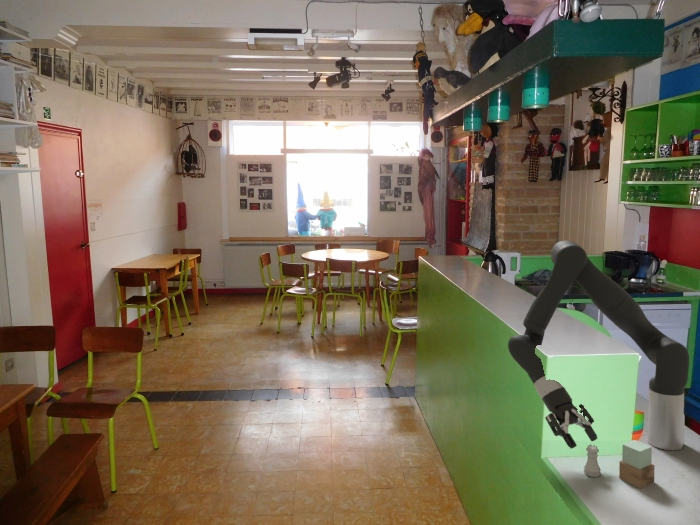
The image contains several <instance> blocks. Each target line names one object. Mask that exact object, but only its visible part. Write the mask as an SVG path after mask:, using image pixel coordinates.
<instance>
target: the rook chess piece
mask: <svg viewBox="0 0 700 525" xmlns="http://www.w3.org/2000/svg"><path fill="white" fill-rule="evenodd" d="M585 450H586V451H587V453H586V456H587V460H586V462H585V464H584V466H583V472H584V474H585V475H586V476H588V477H591V478H597V477H600V476H601V475H602V472H601V471H602V470H601V467H600V465H599V462H598V456H599V455H598V452H600V450H599V449H598V446H597V445H595V444H593V445H592V444H587V447H586V449H585Z"/></svg>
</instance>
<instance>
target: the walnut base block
mask: <svg viewBox="0 0 700 525" xmlns="http://www.w3.org/2000/svg"><path fill="white" fill-rule="evenodd" d="M655 467H656V466H655V464H654V463H651V465H649V466H647V467H644V468H642V469H637V468H635V467H633V466H631V465H629V464H626V463H624V462H622V460H620V461H619V469H618V470H619V472H618V473H619V475H618V476H619V479H620V480H622V481H623V482H626V483H628V484H630V485H632V486H633V487H635V488H638V489H642V488H644V487H646V486H649V485H650V484H653V483H655V469H656V468H655Z"/></svg>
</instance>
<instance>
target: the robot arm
mask: <svg viewBox="0 0 700 525" xmlns="http://www.w3.org/2000/svg"><path fill="white" fill-rule="evenodd" d="M550 258H551V261H552V263H553V268H552V272H551V274H550V277H549V278H548V280H547V283H546V284H545V286H544V287H543V288H542V289H541V291H540V292H539V293H538V294H537V296H536V297H535V299H534V300H533V302H532V303H531V305H530V307H529V308H528V311H527V313H526V315H525V317H524V320H523V323H522V324H523V326H524V327H525V331H524V333H523V334H516V335H513V336H511V337H510V338H509V340H508V343H507V349H508V351H509V354H510V355H511V358H513V360H514V361H515V362H516V363H517V365H519V366H520V367H521V369H523V370H524V371H525V372H526V373H527V376H528V377H529V379H530V380H531V383H533V385H534V388H535V390H536V393H537V394H538V395H539V397H540V399H541V400H542V402H543V404H544V405H545V407H546V409H547V410H548V412H550V413H549V414H547V415H546V416H545V420H546V422H547V424H548V426H549V428H550V430H551V432H552V433H553V435H554V436H555V437H558V436H559V437H561V438H562V439H563V440H564V442H565V444H566V446H568V447H569V448H570V450H571V449H574V448H575V447H577V446H578V445H577V443H576V441H575V440H574V438H573V437H572V435H571V433H569V426H571V425H574V424H575V426H580V427H581V428H583V429H584V432H585V434H586V435H587V437H588V439H589V440H590V441H591V442H594V441H596V440H598V435H597V433H596V431H595V430H594V428H593V427H592V424H593V423H594V422H595V420H594V418H593V417H592V415H591V414H590V412H589V411H588V409H587V408H586V407H585V406H584V404H583V405H582V403H580V404H579V407H580V408H581V410H580V411H579V412H580V413H582V412H583V416H582V415H581V414H579V413H578V411H577V410H578V409H577V408H576V407H577V406H575V405H574V404H573V398H572V397H571V396H570V393H569V392H568V391H567V389H566V388H565V386H564V385H563V386H564V387H563V386H562V385H561V384H560V383H559V382H557V381H555V380H550V379H549V380H546V378H545V374H544V370H543V365H542V362H541V359H540V358H541V357H540V356H538V355H537V354H535V348H536V346H537V345H541V346H542V345H543V341H544V336H545V331H546V329H547V327H548V326H549V324H550V321H551V320H552V318H553V316H554V314H555V312H556V310H557V308H558V306H559V305H560V303H561V302H562V300H563V298H564V296H565V295H566V293H567V291H568V290H569V288H570V287H571V285H572V284H573V283H574V282H576V283H577V284H578V285H579V286H580V287H581V289H582V290H583V292H584V294H586V295H587V297H588V298H589V299H590V300H591V302H592V303H593V304H594V306H596V307H597V309H598V310H599V311H600V312H601V313H602V314H603V315H604V316H605V317H607V319H608V320H610V321H611V322H612V323H613V324H614V325H615V326H616V327H617V328H618V329H620V330H621V331H622V332H624V333H625V334H626V335H627V336H629V337H630V338H631V339H632V341H634V343H635V344H636V345H637V346H638V347H639V349H640V350H641V351H642V352H643V354H644V355H645V356H646V357H647V359H649V361H650V362H652V363H653V364H654V365H655V374H654V376H653V377H651V378H650V379H649V381H648V383H649V384H648V418H647V419H648V424H647V425H648V428H647V429H648V430H647V441H648V443H649V444H650V446H652V447H655V448H658V449H661V450H665V451H666V450H667V451H677V450H678V451H679V450H681V449H682V448H684V447H683V445H684V444H685V416H686V415H685V414H684V411H685V409H684V408H685V387H686V386H687V384H688V380H689V371H690V370H689V369H690V354H689V351H688V349H687V347H686V346H684V344H682V343H680V342H678V341H676V340H675V339H673V338H670V337H669V336H667V335H666V334H665V333H663V332H662V331H660V330H659V329H658V328H657V327H656V326H655V325H654V324H652V323H651V321H650V320H649V319H648V318H647V317H646V315H645V313H644V311H643V309H642V307H641V306H640V304H639V303H638V301H636V300H635V299H634V298H633V297H632V296H631V295H630V294H629V293H628V292H627V291H626V290H625V289H624V288H623V287H622V286H621V285H619V284H618V283H617V282H616V281H615V280H613V279H612V278H611V277H610V276H608V275H607V274H606V273H604V272H603V271H602V270H600V268H598V267H597V266H596V265H595V264H594V263H593V262H592V261H591V259H590V258H589V257H588V255H587V253H586V250H585V249H584V248H583V247H582V246H581V245H580V244H578V243H577V242H575V241H573V240H560V241H558V242H557V243H555V244H554V245H553V246H552V247H551V252H550ZM584 407H585V408H586V409H585V408H584ZM585 416H586V418H587V420H588V421H587V420H586V419H585Z"/></svg>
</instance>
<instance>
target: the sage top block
mask: <svg viewBox="0 0 700 525" xmlns="http://www.w3.org/2000/svg"><path fill="white" fill-rule="evenodd" d="M652 447H653V446H652V445H649V444H646V443H643V442H641V441H638V440H636V439H633V440H630V441H628V442H625V443H623V444H622V454H621V455H622V458H621V461H622V462H624V463H626V464H629V465H631V466H633V467H635V468H637V469H642V468H644V467H647V466H649V465H651V464H652V458H653V457H652V455H653V454H652V450H653V448H652Z"/></svg>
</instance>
